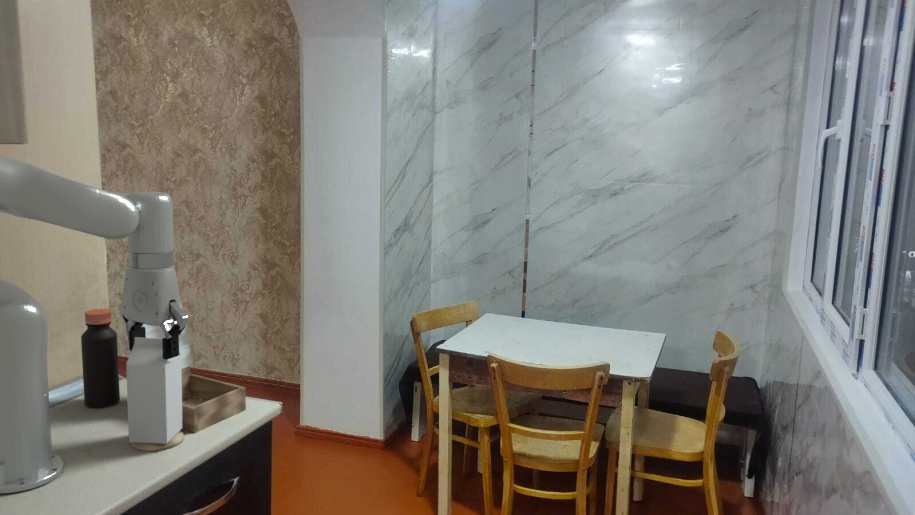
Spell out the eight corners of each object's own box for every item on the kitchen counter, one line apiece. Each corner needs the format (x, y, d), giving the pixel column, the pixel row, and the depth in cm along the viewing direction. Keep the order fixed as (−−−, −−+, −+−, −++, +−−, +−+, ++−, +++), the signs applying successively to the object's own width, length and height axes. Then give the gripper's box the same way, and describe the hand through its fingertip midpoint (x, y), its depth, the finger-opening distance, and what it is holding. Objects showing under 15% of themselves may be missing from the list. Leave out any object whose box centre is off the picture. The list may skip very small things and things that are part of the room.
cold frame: (194, 433, 136) (191, 325, 133) (127, 412, 145) (122, 310, 141) (245, 409, 149) (244, 310, 145) (181, 392, 157) (178, 297, 153)
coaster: (155, 455, 126) (155, 452, 126) (121, 444, 130) (120, 441, 130) (193, 437, 134) (193, 434, 134) (160, 427, 138) (160, 424, 138)
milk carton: (167, 444, 128) (164, 344, 125) (128, 442, 129) (125, 342, 125) (182, 429, 135) (181, 334, 132) (146, 427, 136) (143, 332, 132)
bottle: (110, 409, 146) (106, 316, 143) (78, 408, 146) (72, 315, 143) (125, 397, 153) (122, 308, 149) (94, 396, 153) (90, 307, 149)
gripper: (100, 257, 127) (104, 350, 130) (168, 269, 119) (171, 367, 122) (135, 252, 134) (138, 340, 136) (202, 263, 126) (204, 356, 129)
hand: (154, 353), depth 129 cm, fingers closed on milk carton, 8 cm apart
